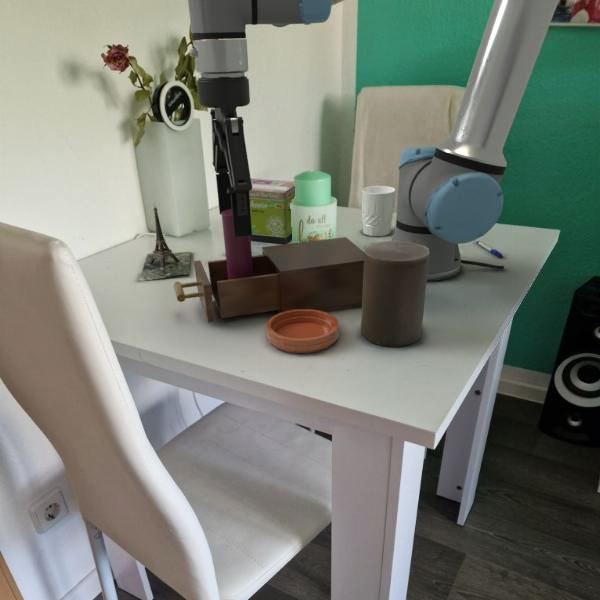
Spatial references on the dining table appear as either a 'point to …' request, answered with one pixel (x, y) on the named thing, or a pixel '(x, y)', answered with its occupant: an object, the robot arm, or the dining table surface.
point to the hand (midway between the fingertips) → (234, 224)
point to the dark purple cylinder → (236, 250)
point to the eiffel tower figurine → (164, 259)
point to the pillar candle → (394, 292)
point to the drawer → (235, 289)
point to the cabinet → (318, 274)
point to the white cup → (377, 210)
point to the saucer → (302, 330)
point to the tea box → (270, 213)
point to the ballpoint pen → (490, 249)
